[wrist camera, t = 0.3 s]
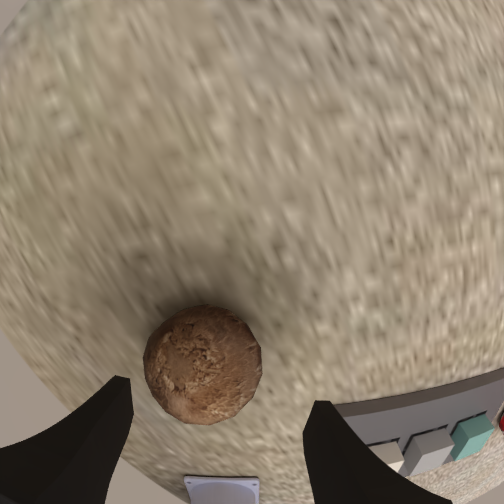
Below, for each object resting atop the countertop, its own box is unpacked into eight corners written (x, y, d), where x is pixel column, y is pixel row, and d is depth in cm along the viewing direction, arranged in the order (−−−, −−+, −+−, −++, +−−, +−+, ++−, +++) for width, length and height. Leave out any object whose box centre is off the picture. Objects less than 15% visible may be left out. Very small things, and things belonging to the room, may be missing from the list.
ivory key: (385, 463, 25) (392, 481, 23) (349, 470, 25) (355, 489, 22) (396, 441, 24) (404, 460, 21) (358, 448, 24) (364, 469, 21)
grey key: (431, 450, 25) (440, 466, 23) (401, 459, 25) (409, 476, 23) (444, 427, 24) (454, 444, 22) (413, 436, 24) (422, 455, 21)
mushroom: (270, 422, 20) (234, 452, 14) (175, 399, 23) (123, 413, 17) (283, 312, 22) (250, 308, 16) (184, 302, 25) (132, 293, 19)
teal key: (470, 436, 25) (479, 450, 23) (445, 445, 25) (454, 461, 23) (484, 413, 24) (494, 428, 22) (459, 423, 24) (469, 438, 22)
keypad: (466, 445, 28) (471, 453, 27) (311, 484, 28) (313, 495, 26) (510, 365, 24) (517, 373, 23) (331, 405, 24) (335, 418, 22)
